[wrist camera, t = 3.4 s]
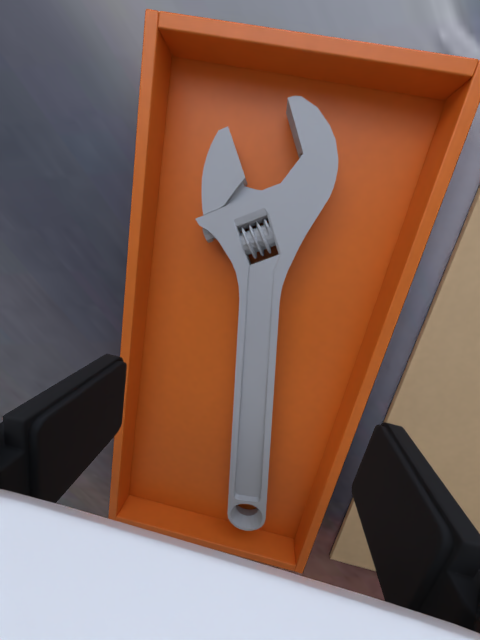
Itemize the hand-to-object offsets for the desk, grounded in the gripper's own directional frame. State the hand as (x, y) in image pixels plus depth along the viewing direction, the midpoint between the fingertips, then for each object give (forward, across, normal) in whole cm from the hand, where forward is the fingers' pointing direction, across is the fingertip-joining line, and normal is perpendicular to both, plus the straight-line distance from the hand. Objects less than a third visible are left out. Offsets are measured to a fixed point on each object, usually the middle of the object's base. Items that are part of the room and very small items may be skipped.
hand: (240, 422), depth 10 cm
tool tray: (+7, +1, 0) cm, 7 cm away
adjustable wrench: (+7, +1, 0) cm, 7 cm away
